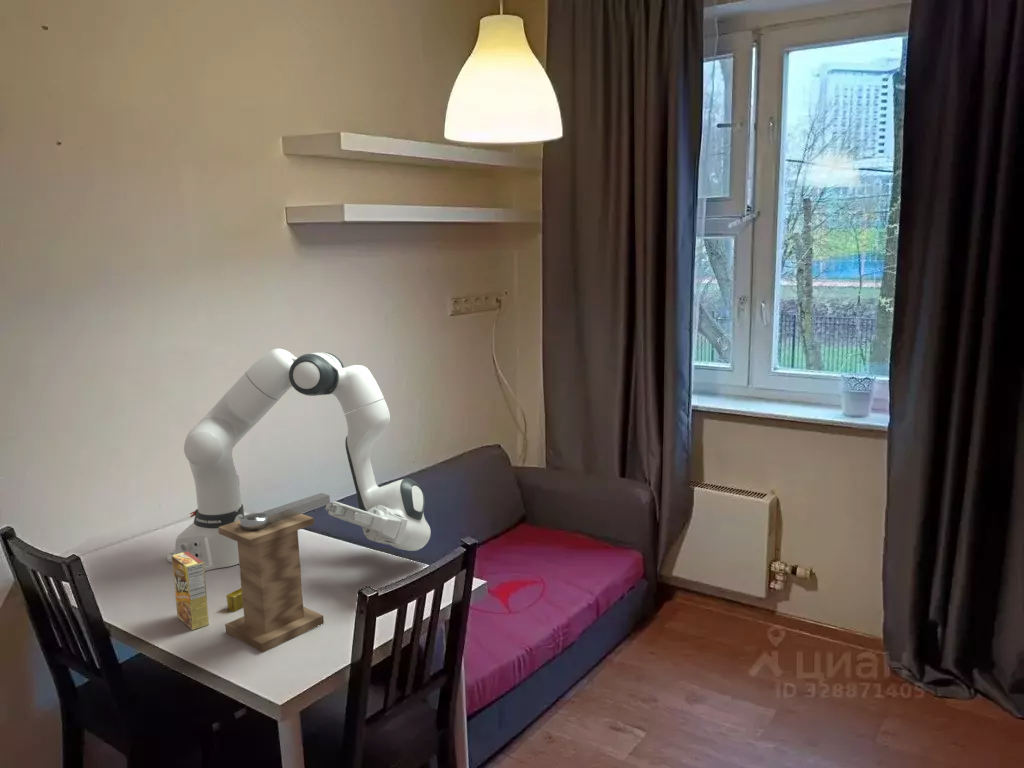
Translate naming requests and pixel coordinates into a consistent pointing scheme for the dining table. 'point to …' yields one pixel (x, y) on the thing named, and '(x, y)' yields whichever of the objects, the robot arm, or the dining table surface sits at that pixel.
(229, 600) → the medication box
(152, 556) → the dining table surface
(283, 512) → the spanner
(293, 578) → the stand
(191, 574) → the candy box
